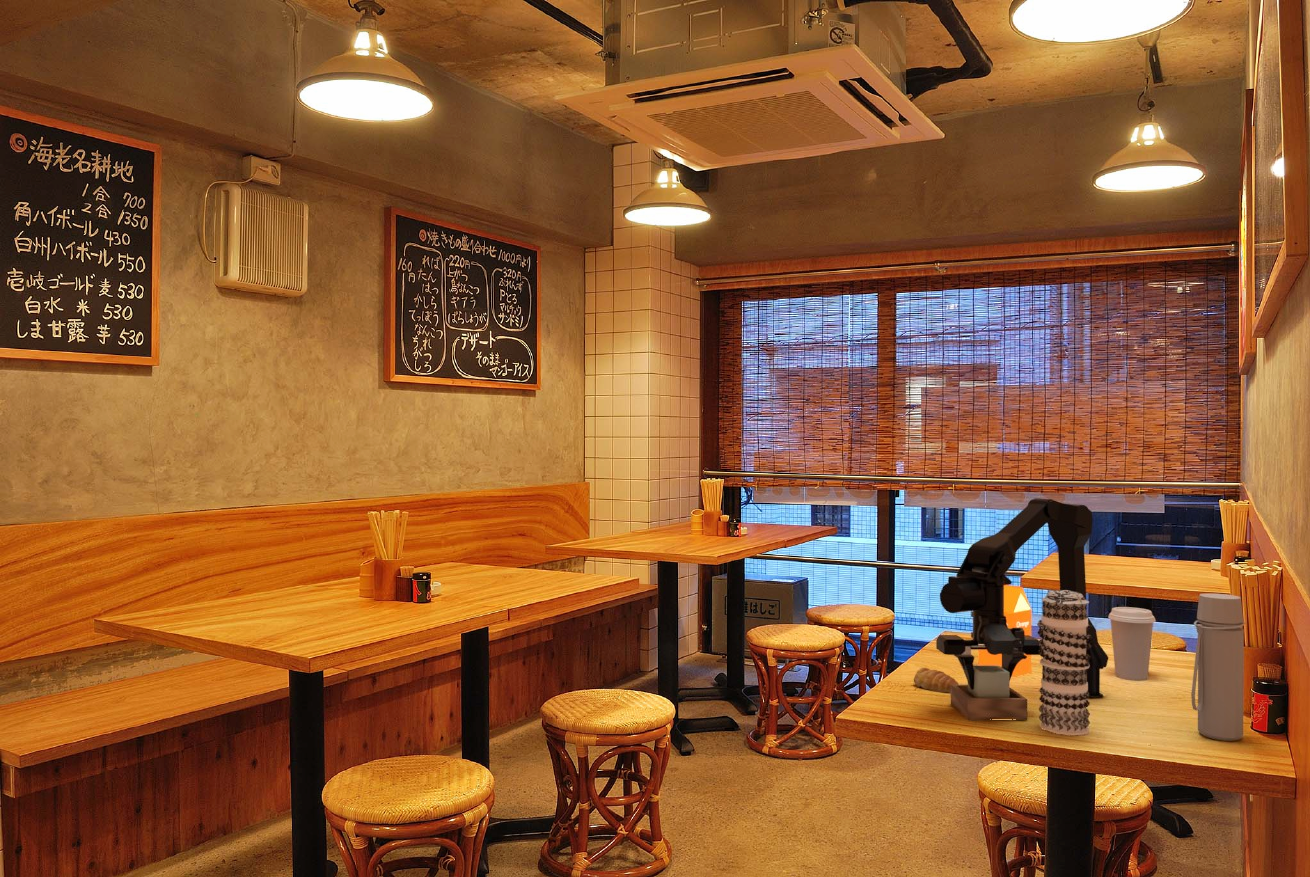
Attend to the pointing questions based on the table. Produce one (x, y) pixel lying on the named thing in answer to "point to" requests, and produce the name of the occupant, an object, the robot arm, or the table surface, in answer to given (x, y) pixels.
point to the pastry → (934, 680)
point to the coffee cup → (1131, 641)
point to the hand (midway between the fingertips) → (988, 689)
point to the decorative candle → (1064, 663)
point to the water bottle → (1219, 667)
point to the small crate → (990, 682)
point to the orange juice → (1016, 617)
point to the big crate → (988, 705)
